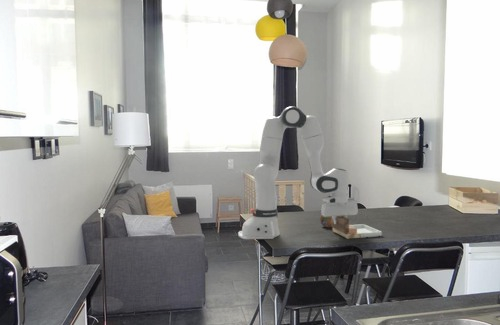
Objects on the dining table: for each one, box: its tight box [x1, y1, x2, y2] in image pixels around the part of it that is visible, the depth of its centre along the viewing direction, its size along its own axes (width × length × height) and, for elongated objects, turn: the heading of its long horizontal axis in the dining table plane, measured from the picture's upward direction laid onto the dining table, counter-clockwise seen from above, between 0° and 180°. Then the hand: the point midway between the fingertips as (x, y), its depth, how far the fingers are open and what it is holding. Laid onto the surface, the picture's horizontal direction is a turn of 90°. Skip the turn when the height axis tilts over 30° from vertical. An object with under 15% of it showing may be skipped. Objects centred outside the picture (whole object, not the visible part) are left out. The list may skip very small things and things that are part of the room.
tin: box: [319, 214, 343, 228], centre depth 210 cm, size 15×3×8 cm, turn 101°
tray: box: [349, 223, 383, 239], centre depth 195 cm, size 12×18×2 cm, turn 14°
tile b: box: [348, 226, 357, 234], centre depth 189 cm, size 5×5×2 cm
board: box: [332, 227, 362, 240], centre depth 193 cm, size 8×16×2 cm, turn 14°
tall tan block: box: [330, 216, 350, 233], centre depth 191 cm, size 3×14×7 cm, turn 14°
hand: (339, 223), depth 192 cm, fingers closed on tall tan block, 3 cm apart
